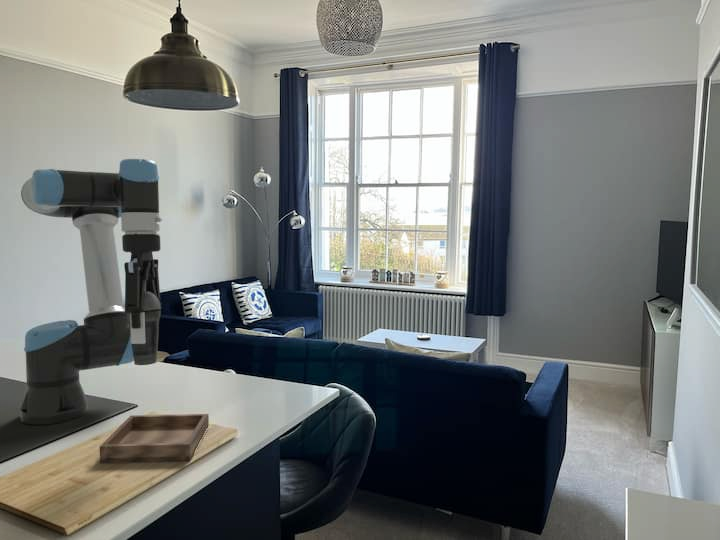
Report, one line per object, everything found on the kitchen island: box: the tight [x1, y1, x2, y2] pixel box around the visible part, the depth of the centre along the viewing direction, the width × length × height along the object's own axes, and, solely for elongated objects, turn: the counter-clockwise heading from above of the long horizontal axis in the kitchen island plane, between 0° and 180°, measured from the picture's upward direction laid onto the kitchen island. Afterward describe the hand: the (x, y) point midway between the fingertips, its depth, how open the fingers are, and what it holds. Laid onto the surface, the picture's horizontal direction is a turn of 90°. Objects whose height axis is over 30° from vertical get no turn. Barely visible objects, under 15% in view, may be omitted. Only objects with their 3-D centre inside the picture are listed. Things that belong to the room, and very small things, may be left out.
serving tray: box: [98, 413, 210, 464], centre depth 120 cm, size 18×18×4 cm
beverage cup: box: [126, 282, 162, 366], centre depth 117 cm, size 7×7×20 cm
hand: (145, 339), depth 117 cm, fingers closed on beverage cup, 7 cm apart
